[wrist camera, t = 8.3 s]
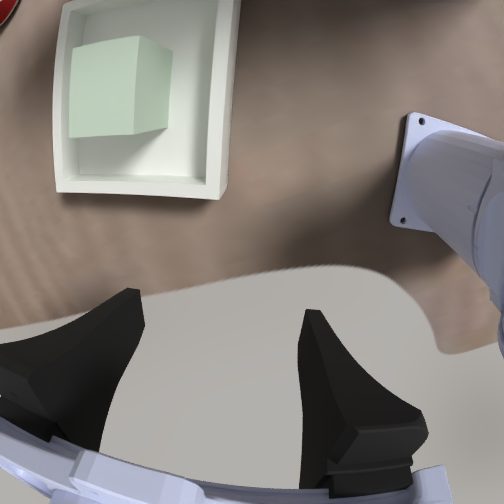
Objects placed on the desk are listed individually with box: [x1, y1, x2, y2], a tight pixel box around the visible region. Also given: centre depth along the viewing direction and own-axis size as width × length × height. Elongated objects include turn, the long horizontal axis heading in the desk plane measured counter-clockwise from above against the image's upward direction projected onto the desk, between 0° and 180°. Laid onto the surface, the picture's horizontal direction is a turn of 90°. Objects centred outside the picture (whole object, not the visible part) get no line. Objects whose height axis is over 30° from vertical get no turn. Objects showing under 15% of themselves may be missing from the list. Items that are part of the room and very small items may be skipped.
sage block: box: [69, 35, 173, 138], centre depth 14 cm, size 4×5×5 cm
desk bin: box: [53, 0, 241, 200], centre depth 16 cm, size 12×14×3 cm
